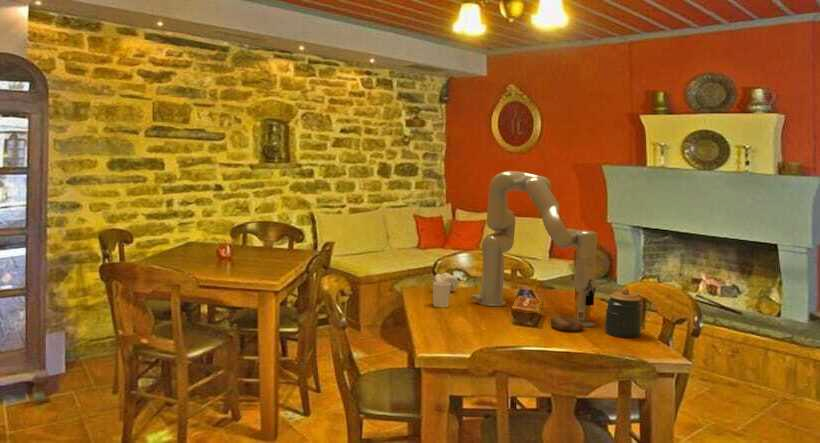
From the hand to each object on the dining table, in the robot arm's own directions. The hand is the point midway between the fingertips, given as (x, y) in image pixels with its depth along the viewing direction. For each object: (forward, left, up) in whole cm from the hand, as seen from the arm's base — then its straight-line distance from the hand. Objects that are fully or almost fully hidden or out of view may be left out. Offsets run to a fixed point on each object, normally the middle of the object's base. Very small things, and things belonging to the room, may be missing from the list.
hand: (584, 302), depth 246 cm
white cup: (-54, +24, -8) cm, 60 cm away
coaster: (-2, -8, -7) cm, 11 cm away
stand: (-12, -12, -7) cm, 18 cm away
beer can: (0, 0, -7) cm, 7 cm away
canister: (+7, -20, -8) cm, 22 cm away
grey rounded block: (-47, +51, -8) cm, 70 cm away
